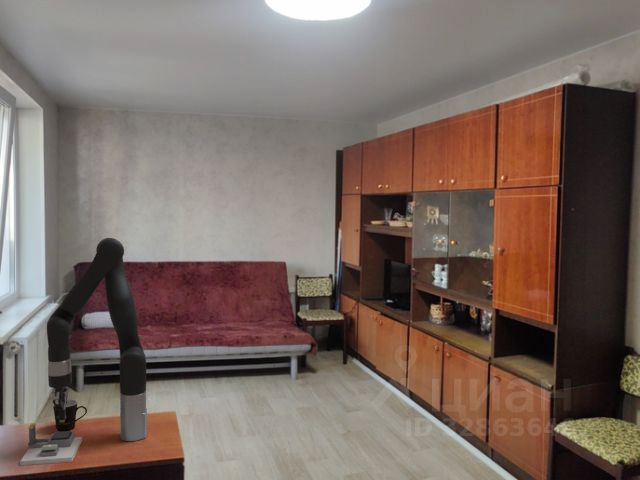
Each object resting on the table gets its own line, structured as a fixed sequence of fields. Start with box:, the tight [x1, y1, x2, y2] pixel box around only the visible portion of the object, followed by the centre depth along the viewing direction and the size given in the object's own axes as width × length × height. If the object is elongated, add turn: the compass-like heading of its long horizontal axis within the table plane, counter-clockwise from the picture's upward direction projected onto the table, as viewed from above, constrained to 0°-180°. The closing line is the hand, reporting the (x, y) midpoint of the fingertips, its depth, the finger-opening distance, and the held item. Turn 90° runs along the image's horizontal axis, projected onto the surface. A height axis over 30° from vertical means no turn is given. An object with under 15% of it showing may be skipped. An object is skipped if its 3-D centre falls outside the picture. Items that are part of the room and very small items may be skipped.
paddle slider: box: [27, 422, 38, 447], centre depth 196 cm, size 2×3×7 cm, turn 12°
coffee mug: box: [52, 398, 88, 432], centre depth 213 cm, size 12×9×10 cm
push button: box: [52, 430, 72, 441], centre depth 198 cm, size 5×5×3 cm
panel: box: [20, 431, 83, 466], centre depth 194 cm, size 16×16×4 cm
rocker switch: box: [41, 444, 57, 450], centre depth 190 cm, size 4×3×1 cm, turn 102°
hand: (62, 419), depth 197 cm, fingers closed
